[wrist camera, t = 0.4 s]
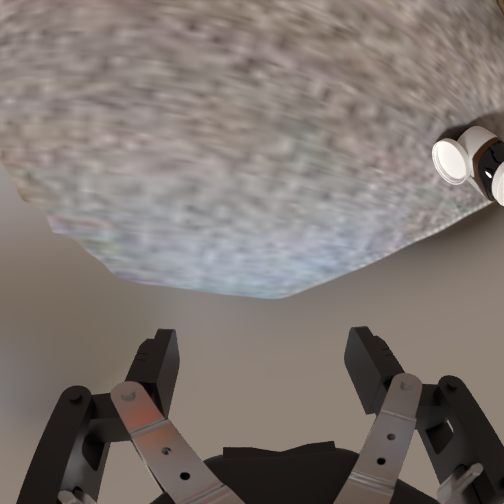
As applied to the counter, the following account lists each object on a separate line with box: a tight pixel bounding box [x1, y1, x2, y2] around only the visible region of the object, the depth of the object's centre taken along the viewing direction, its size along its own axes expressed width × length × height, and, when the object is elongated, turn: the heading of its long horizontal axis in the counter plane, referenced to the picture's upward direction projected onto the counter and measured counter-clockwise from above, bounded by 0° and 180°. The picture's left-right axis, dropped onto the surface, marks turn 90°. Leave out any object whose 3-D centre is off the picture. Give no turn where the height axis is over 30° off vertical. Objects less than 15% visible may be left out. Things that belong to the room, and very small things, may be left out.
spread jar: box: [432, 126, 504, 206], centre depth 32 cm, size 12×11×12 cm
